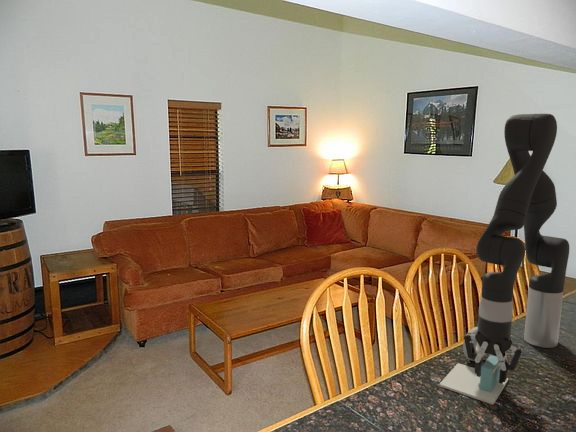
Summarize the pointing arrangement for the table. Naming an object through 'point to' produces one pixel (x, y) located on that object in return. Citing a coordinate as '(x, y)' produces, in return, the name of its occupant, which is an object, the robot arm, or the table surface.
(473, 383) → the mat
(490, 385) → the box
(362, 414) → the table surface
